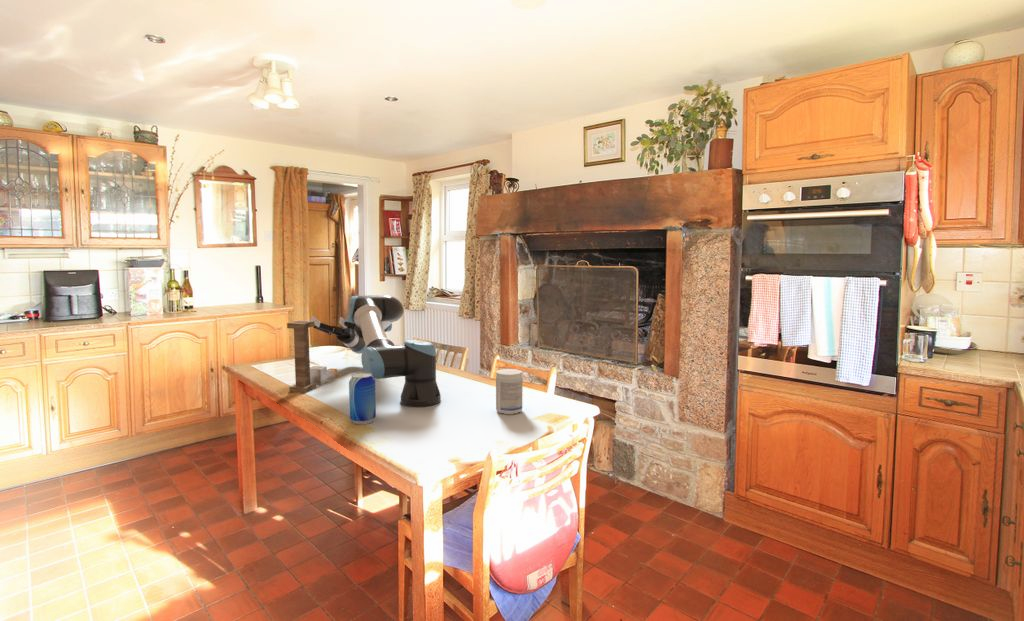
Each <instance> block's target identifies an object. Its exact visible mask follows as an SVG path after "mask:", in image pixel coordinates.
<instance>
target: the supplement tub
mask: <svg viewBox="0 0 1024 621" xmlns="http://www.w3.org/2000/svg"><path fill="white" fill-rule="evenodd" d="M495 372H496V373H495V374H496V375H495V409H496V411H497V412H498V413H499V414H501V413H504V414H503V415H515V414H514V413H517V414H519V413H518V412H520V413H521V412H522V411H523V371H522V370H520V369H515V368H503V369H498V370H497V371H495Z"/></svg>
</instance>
